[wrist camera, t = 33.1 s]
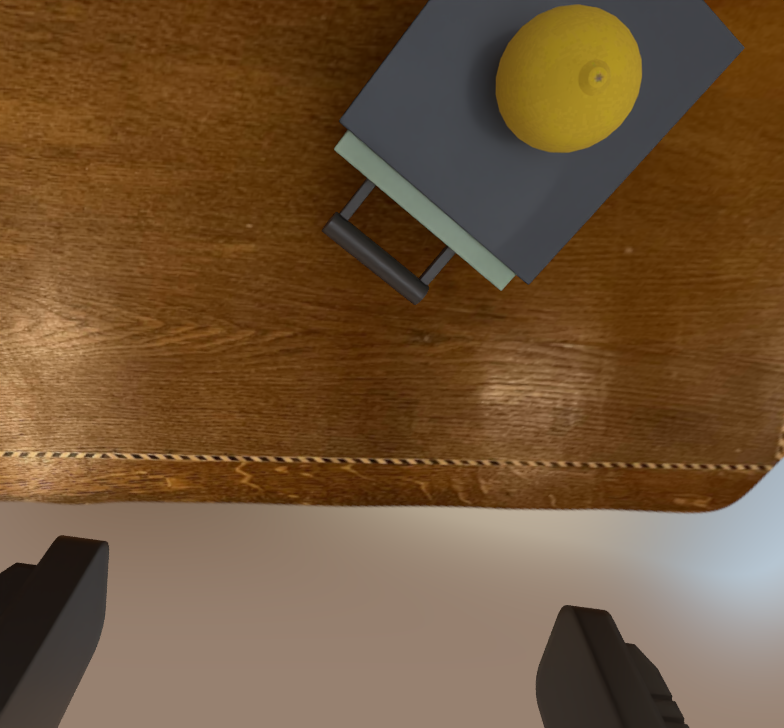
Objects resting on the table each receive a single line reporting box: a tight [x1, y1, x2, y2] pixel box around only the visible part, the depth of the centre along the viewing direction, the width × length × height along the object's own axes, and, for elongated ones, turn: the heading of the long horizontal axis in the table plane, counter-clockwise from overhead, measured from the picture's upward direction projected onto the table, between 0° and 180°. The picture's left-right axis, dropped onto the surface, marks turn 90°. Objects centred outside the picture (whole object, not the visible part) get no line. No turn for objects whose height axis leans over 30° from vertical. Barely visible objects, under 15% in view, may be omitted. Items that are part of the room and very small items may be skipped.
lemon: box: [496, 4, 642, 153], centre depth 26 cm, size 6×6×8 cm
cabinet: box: [339, 0, 744, 284], centre depth 35 cm, size 15×13×10 cm
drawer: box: [322, 130, 516, 305], centre depth 36 cm, size 18×11×8 cm, turn 140°
